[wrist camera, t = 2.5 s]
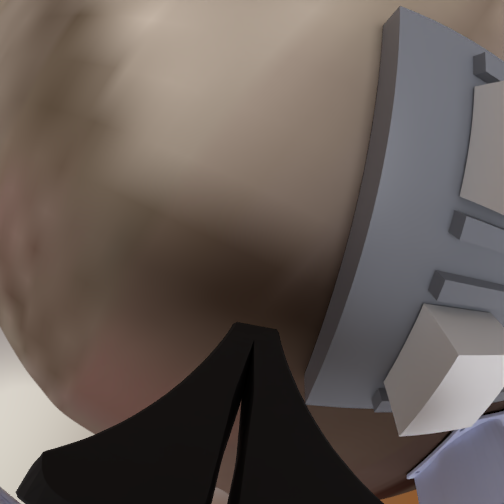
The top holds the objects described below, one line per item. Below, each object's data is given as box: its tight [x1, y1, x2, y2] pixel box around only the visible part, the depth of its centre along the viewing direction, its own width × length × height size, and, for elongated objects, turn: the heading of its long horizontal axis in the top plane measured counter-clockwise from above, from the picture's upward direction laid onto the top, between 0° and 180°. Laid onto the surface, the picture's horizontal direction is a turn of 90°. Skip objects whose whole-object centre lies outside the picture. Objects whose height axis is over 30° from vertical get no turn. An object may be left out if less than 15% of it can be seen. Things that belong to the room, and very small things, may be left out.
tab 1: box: [384, 304, 504, 437], centre depth 8 cm, size 4×4×3 cm
